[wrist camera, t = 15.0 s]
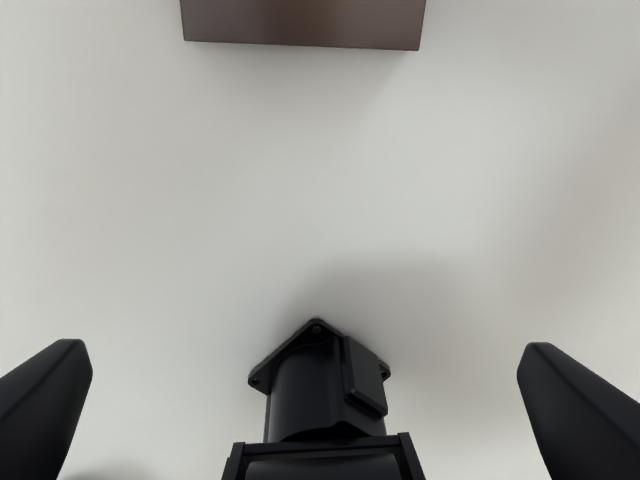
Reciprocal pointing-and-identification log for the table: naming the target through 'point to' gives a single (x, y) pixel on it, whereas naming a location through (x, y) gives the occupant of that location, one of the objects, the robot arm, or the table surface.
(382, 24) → the switch bracket
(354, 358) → the robot arm
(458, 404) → the table surface
